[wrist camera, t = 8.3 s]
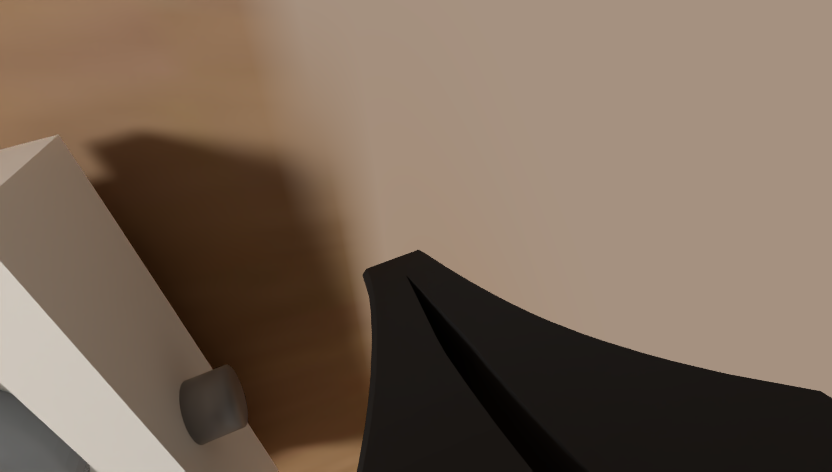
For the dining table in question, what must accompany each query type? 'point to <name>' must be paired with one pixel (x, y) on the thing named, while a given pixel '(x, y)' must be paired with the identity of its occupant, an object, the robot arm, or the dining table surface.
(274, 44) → the dining table surface
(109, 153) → the dining table surface
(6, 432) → the grey dome
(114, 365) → the white drawer
